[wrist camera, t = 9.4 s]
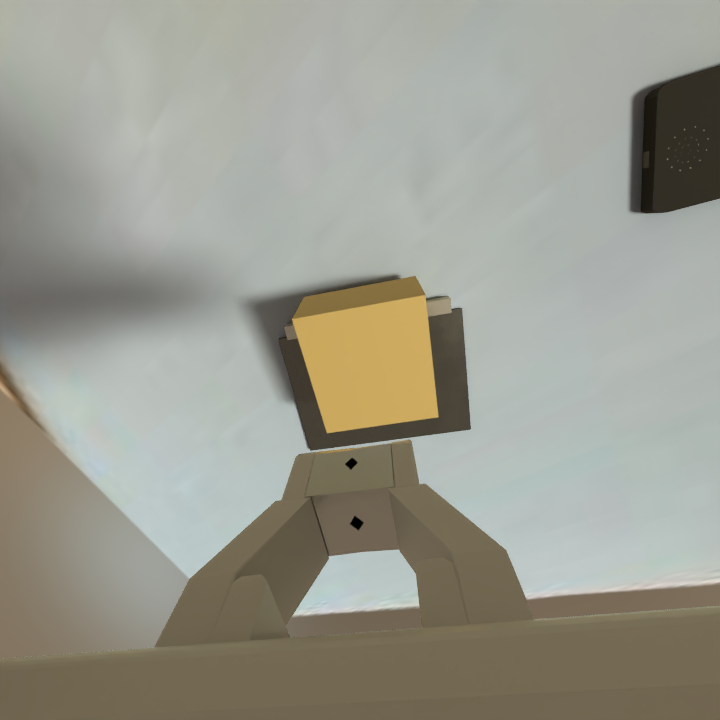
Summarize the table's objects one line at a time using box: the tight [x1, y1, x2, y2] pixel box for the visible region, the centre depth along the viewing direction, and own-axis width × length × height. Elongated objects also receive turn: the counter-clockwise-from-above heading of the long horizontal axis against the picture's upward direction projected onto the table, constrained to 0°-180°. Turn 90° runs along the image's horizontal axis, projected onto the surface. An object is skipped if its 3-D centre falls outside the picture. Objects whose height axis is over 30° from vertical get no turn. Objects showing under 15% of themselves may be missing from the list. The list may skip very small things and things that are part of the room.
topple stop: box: [279, 296, 471, 451], centre depth 31 cm, size 13×16×1 cm
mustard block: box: [292, 276, 438, 433], centre depth 27 cm, size 5×9×10 cm
